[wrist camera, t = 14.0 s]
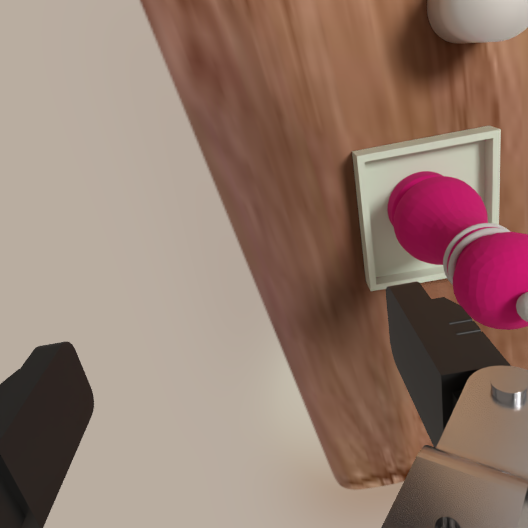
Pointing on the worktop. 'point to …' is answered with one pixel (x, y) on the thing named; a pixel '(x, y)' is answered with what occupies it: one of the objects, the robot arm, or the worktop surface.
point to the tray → (399, 167)
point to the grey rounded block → (477, 19)
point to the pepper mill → (463, 246)
